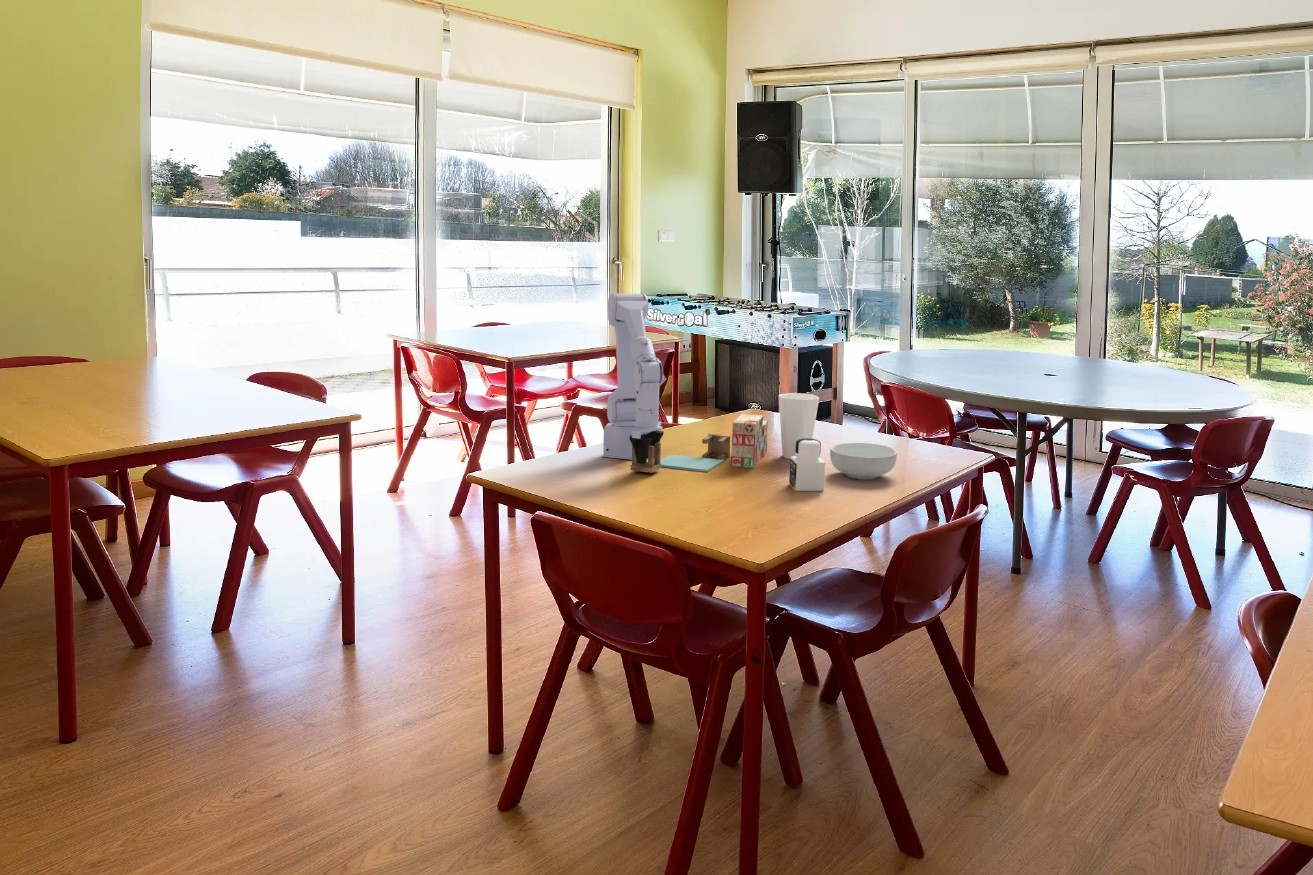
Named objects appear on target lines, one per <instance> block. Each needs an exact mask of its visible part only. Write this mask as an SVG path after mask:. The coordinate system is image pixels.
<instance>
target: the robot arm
mask: <svg viewBox="0 0 1313 875" xmlns="http://www.w3.org/2000/svg"><path fill="white" fill-rule="evenodd" d="M648 311H649V298H648V296H647V295H646V294H645V293H644V292H642V293H615V292H611V293H610V295H609V296H608V300H607V320H608V324H609V325H610V326H611V327H613V328H614V332H615V348H616V349H615V351H616V373H617V388H616V389H615V390H614V391H612V392H611V393H610V394H609V395H608V397H607V407H606V408H607V409H606V414H607V415H606V416H607V419H608V423H607V424H606V425H605V426H604V431H603V447H602V448H603V449H602V450H603V451H602V452H603V454H602V455H601V456H602V457H603V458H604V457H605V458H610V459H611V458H612V459H618V460H619V459H620V460H621V459H622V460H627V461H628V460H631V461H632V445H633V448H634V451H635V455H636V460H637V463H638V464H646V462H648V449H649V446H654V452H655V443H656V442H657V443H661V442H660V441H661V440H662V437H663V436H664V430H663V426H662V421H659V411H660V410H659V406H660V403H659V402H660V385H661V383H662V382H663V379H664V369H663V364H662V361H661V360H660V358H658V357H656V353H655V349H654V346H653V342H652V340H651V339H650V338H649V337H647V333H646V326H645V319H646V317H647V314H648ZM618 399H619V400H618ZM620 399H621V400H620ZM602 457H601V458H602Z"/></svg>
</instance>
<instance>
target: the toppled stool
mask: <svg viewBox="0 0 1313 875" xmlns="http://www.w3.org/2000/svg"><path fill="white" fill-rule="evenodd" d="M701 444H705V445H707V451H706V452H704V453H703V454H702V455H701V458H708V459H711V457H715V458H716V457H717V458H716V459H718V460H723V461H725V460H726V459H729V458H731V435H728V434H717V433H708V434H707V435H706V436H705V437H703V438H702V440H701Z"/></svg>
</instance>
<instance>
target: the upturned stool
mask: <svg viewBox="0 0 1313 875" xmlns="http://www.w3.org/2000/svg"><path fill="white" fill-rule="evenodd" d="M661 448H662V443H661V442H659V443H657V442H656V443H655V452H654V446H649V449H648V459H647V461H646V464H638V463H637V460H636V455H635V451H634V448H633V445H632V460H631V465H630V471H633V472H634V471H635V472H643V473H652V474H653V473H655V472H657V471H658V470H661V469H662V467H661V463H660V460H661V455H662V454H661V453H662V452H661Z"/></svg>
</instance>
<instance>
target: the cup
mask: <svg viewBox="0 0 1313 875" xmlns="http://www.w3.org/2000/svg"><path fill="white" fill-rule="evenodd" d="M819 402H820V397H818V396H817V395H815V394H811V393H801V392H799V393H798V392H789V393H781V394H778V406H779V408H778V410H779V422H780V438H781V450H782V452H781V453H782V457H783V458H784V459H788V460H790V457H791V456H795V450H796V441H797V440H799V439H803V438H810V439H814V438H813V436H814V431H815V425H816V420H817V414H818V413H817V412H818V408H819Z"/></svg>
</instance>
